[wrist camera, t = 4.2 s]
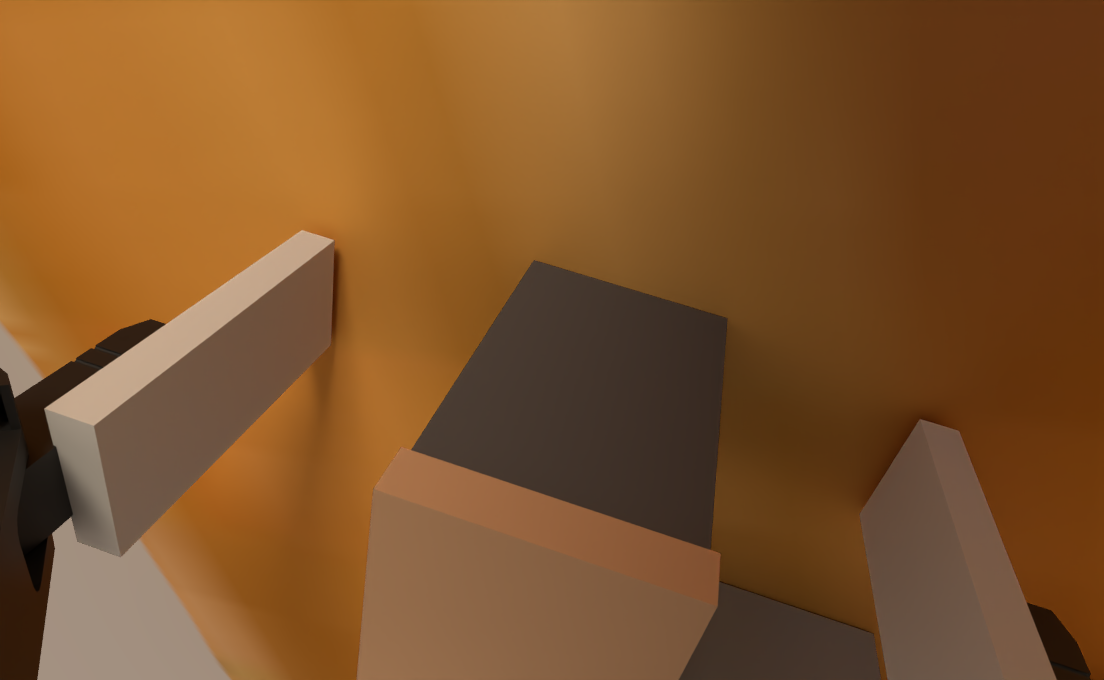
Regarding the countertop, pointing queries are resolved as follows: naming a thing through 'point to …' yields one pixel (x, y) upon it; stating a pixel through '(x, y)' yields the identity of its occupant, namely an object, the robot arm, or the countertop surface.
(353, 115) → the countertop surface
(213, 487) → the countertop surface
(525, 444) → the tan and grey block
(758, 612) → the notch board
